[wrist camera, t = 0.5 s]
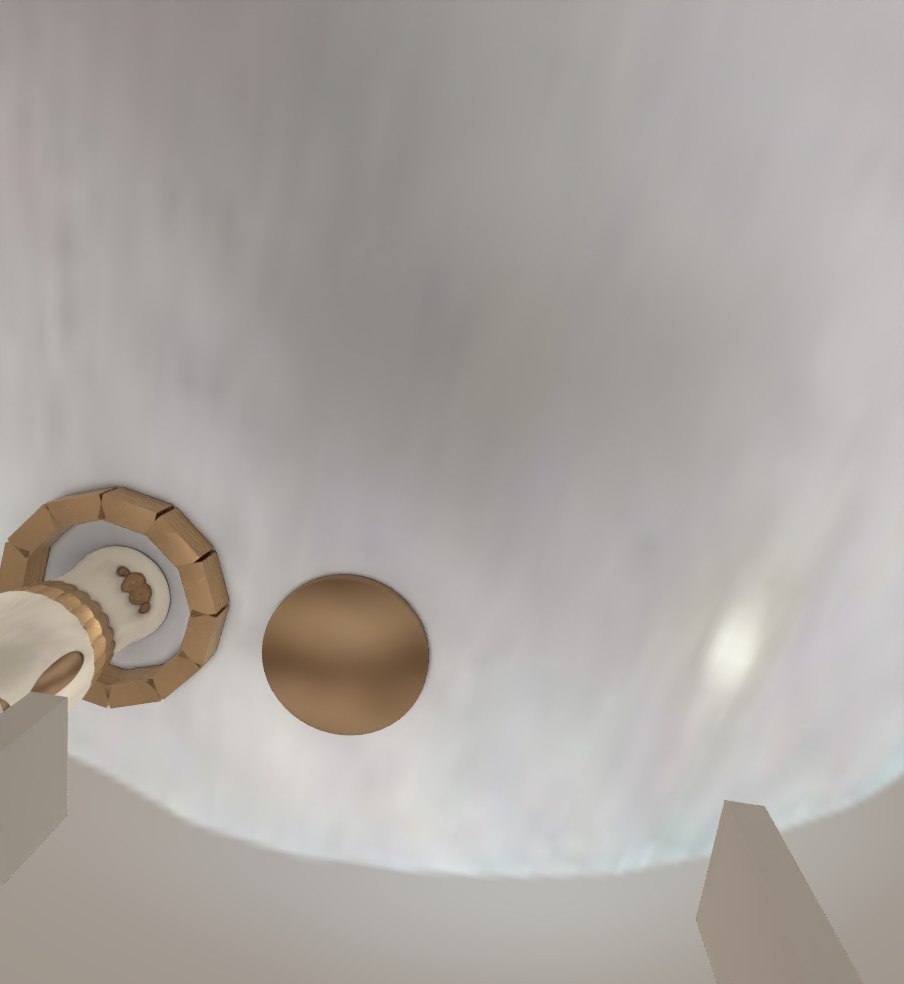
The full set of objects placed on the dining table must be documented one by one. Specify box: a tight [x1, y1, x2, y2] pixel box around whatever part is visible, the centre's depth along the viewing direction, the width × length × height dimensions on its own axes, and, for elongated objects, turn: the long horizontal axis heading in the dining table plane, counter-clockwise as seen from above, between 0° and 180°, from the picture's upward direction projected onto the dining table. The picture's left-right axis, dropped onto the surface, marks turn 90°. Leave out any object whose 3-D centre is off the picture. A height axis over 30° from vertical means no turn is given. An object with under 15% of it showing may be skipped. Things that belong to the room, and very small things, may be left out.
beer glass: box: [0, 546, 170, 714], centre depth 36 cm, size 7×7×15 cm
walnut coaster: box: [262, 575, 429, 735], centre depth 42 cm, size 10×10×1 cm
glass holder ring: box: [0, 486, 229, 708], centre depth 42 cm, size 13×13×2 cm
